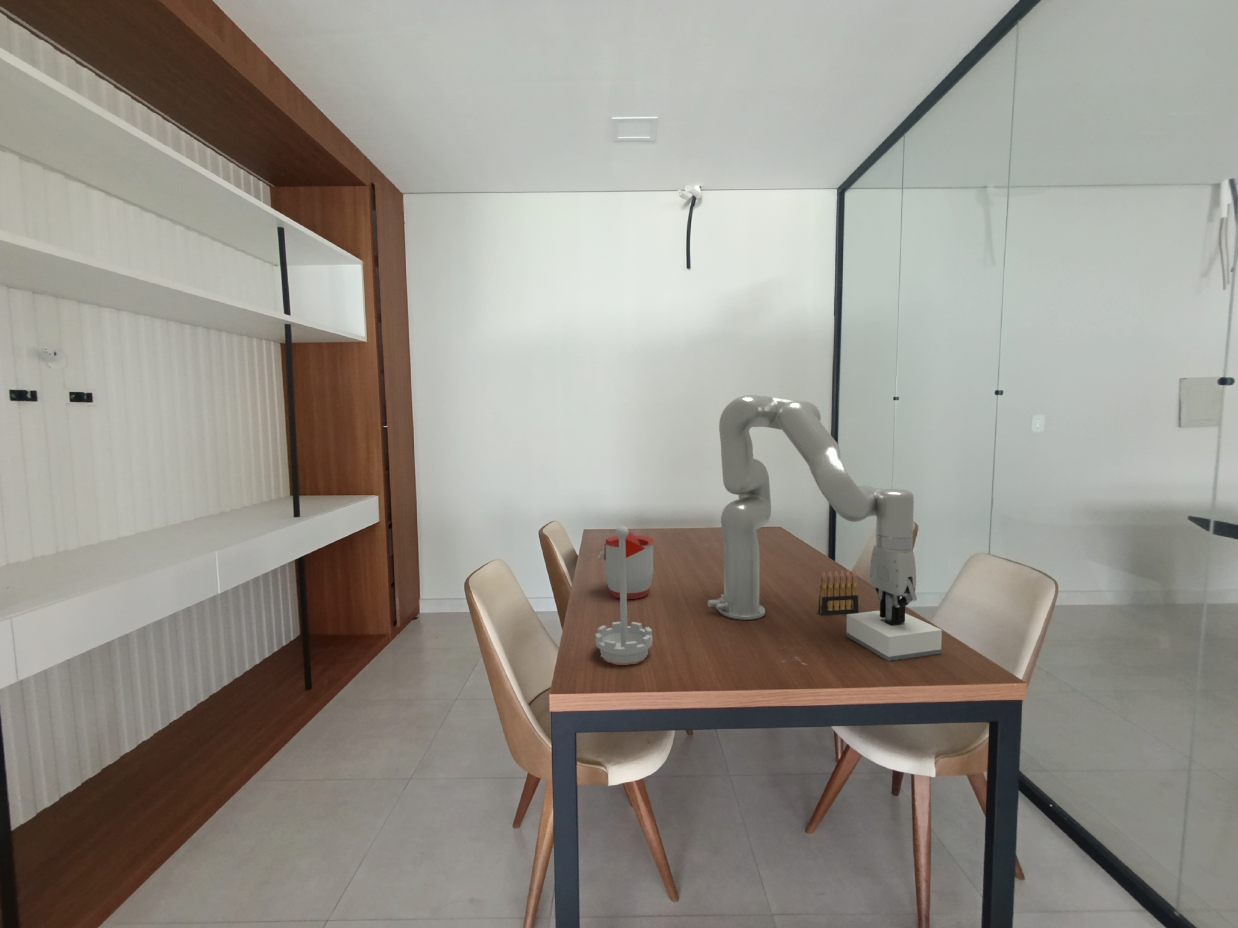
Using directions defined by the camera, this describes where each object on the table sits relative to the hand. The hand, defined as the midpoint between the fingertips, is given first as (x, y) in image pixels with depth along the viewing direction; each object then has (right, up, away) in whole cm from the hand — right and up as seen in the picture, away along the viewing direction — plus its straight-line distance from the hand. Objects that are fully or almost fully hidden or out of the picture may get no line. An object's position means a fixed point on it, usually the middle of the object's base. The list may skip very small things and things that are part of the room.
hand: (892, 618), depth 122 cm
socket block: (0, -6, 0) cm, 6 cm away
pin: (0, -3, 0) cm, 3 cm away
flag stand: (-63, -8, -2) cm, 63 cm away
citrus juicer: (-62, -4, +40) cm, 74 cm away
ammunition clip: (-4, -5, +21) cm, 22 cm away
